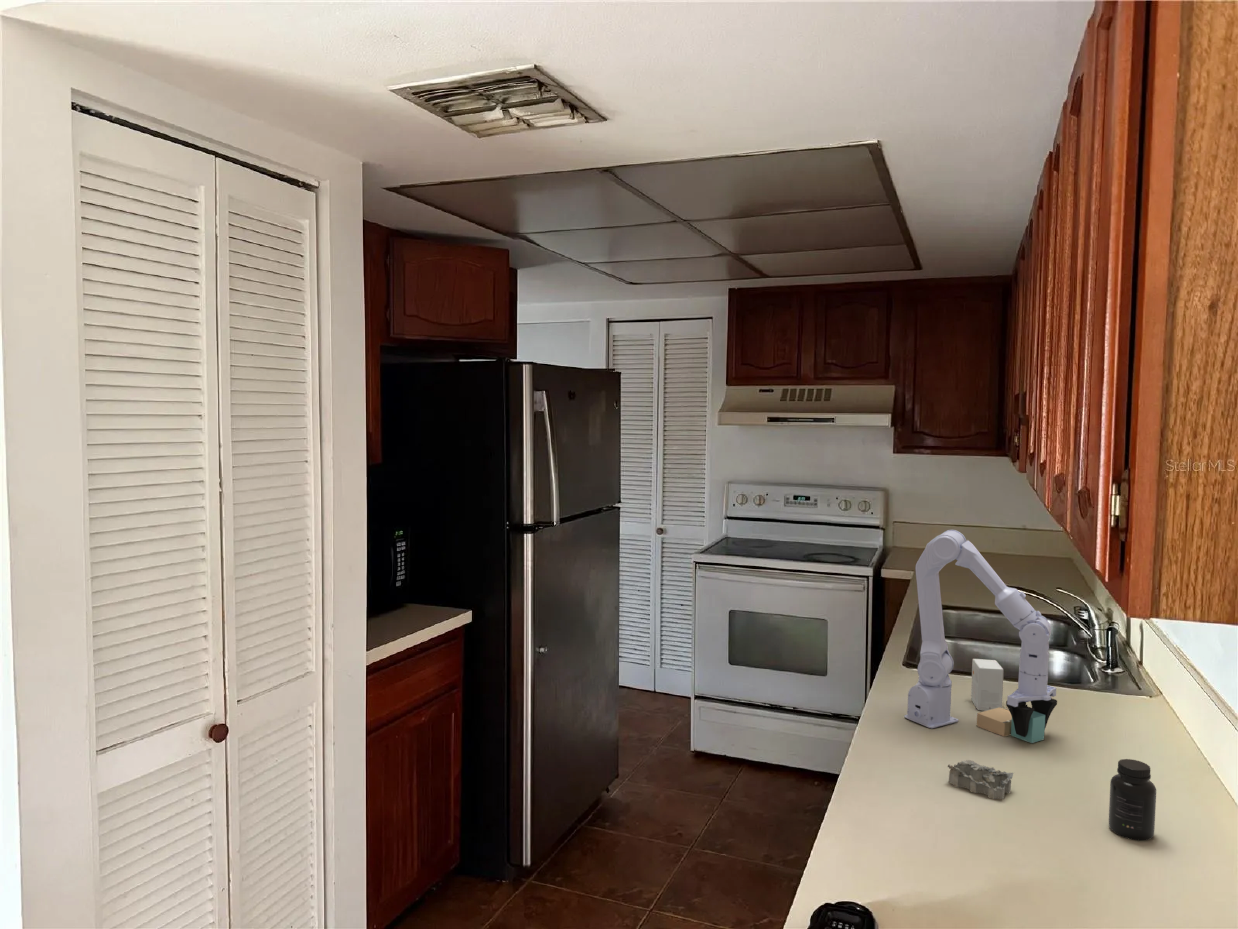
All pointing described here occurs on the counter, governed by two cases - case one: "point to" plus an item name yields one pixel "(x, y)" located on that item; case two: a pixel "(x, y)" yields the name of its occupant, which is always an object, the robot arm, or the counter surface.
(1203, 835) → the counter surface
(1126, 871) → the counter surface
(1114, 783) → the supplement bottle
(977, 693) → the small box
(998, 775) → the egg carton
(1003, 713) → the taped cardboard box
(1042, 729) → the teal box
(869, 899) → the counter surface
